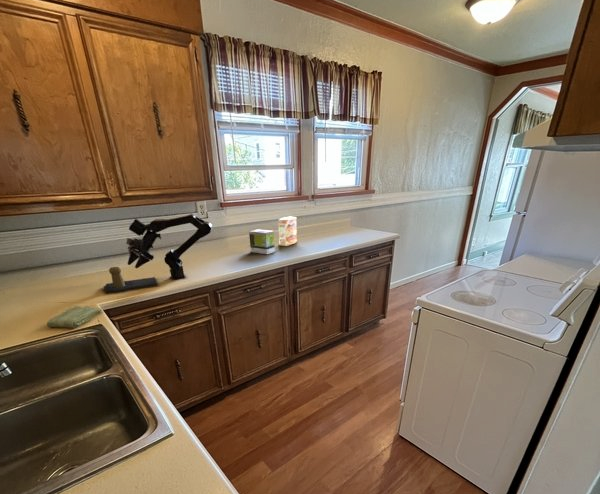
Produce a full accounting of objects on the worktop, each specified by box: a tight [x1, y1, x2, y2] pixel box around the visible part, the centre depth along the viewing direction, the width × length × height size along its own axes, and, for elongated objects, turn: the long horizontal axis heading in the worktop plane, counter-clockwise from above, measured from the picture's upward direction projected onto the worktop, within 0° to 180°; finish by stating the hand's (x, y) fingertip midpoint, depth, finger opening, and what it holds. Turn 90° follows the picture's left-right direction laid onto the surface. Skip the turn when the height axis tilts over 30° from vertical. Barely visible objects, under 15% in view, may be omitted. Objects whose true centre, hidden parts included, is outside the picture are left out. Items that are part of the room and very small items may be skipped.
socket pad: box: [103, 276, 158, 294], centre depth 170 cm, size 25×14×2 cm, turn 117°
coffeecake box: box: [278, 216, 298, 247], centre depth 251 cm, size 15×7×20 cm, turn 147°
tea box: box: [248, 229, 276, 255], centre depth 230 cm, size 15×10×15 cm, turn 58°
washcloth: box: [46, 305, 103, 329], centre depth 134 cm, size 13×18×3 cm
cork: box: [108, 266, 126, 288], centre depth 166 cm, size 6×6×11 cm
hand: (131, 266), depth 169 cm, fingers open, 9 cm apart
